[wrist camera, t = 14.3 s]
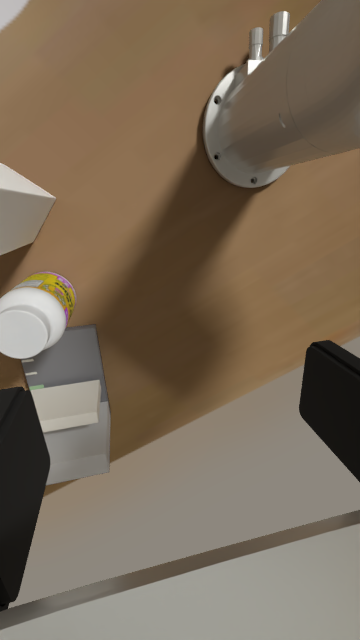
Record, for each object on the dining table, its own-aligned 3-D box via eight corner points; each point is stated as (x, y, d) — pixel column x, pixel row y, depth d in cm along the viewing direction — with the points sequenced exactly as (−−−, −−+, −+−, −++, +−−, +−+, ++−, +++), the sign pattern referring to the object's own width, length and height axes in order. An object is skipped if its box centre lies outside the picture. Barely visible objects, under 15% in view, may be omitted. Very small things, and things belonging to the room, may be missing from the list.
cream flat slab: (19, 392, 39) (0, 428, 32) (99, 379, 40) (96, 411, 34) (22, 401, 39) (4, 439, 33) (101, 389, 41) (98, 422, 35)
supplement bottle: (82, 315, 39) (68, 361, 27) (31, 324, 38) (-8, 376, 26) (69, 265, 36) (46, 293, 24) (13, 274, 35) (-38, 307, 23)
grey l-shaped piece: (17, 333, 38) (-20, 380, 27) (95, 324, 39) (88, 364, 29) (43, 424, 43) (20, 490, 33) (110, 412, 45) (109, 472, 35)
